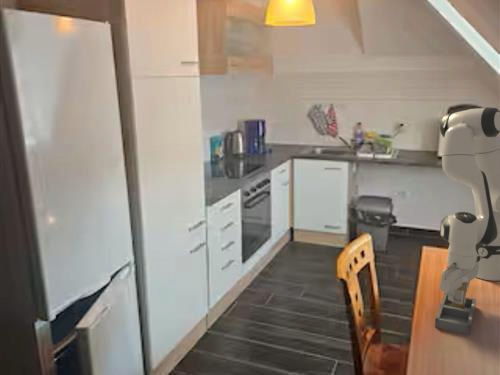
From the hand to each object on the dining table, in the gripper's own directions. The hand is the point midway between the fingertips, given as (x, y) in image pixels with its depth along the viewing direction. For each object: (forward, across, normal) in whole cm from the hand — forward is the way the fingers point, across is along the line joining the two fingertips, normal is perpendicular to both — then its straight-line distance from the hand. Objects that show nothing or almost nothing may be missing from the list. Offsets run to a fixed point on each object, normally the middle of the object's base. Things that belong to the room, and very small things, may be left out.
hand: (457, 296), depth 165 cm
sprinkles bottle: (+5, 0, 0) cm, 5 cm away
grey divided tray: (+5, -4, -2) cm, 7 cm away
